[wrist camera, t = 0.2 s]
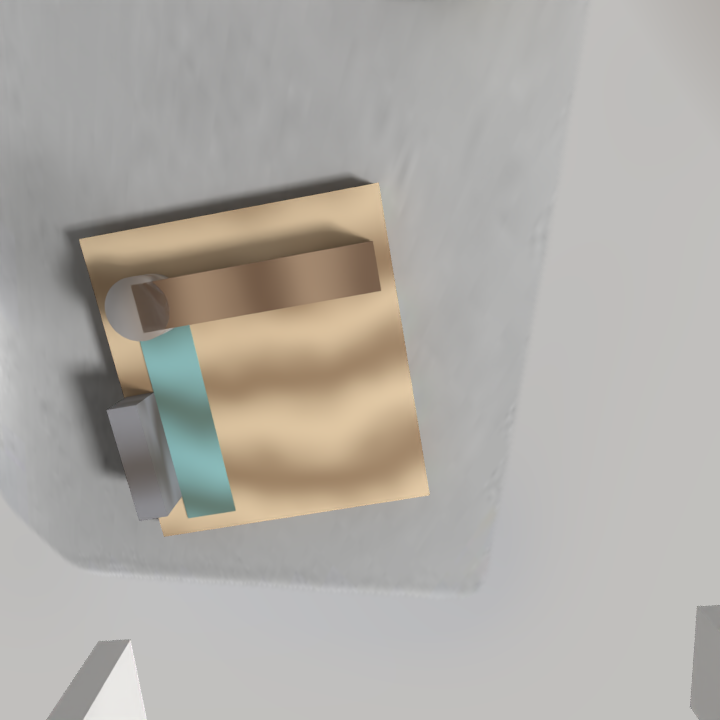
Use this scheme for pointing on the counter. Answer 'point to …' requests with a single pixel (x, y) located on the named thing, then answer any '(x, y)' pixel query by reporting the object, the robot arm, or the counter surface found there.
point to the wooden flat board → (263, 376)
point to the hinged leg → (239, 290)
